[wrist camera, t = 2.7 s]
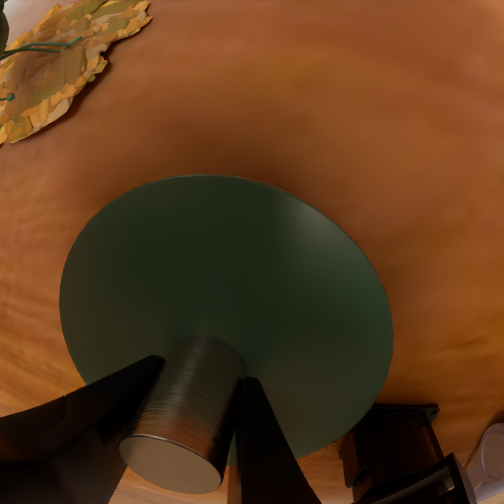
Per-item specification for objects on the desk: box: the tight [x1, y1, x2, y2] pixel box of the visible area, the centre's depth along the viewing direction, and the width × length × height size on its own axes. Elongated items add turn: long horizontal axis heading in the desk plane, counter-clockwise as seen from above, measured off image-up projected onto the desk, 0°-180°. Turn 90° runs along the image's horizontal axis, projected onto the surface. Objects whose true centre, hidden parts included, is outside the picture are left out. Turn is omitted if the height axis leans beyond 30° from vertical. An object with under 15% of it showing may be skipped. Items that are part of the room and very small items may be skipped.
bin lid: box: [59, 173, 394, 494], centre depth 8 cm, size 11×11×5 cm
